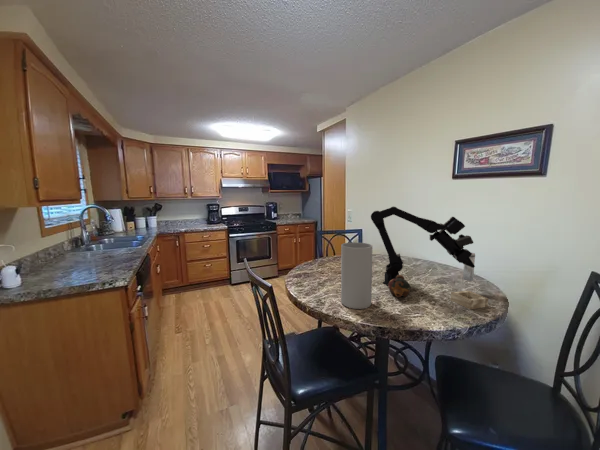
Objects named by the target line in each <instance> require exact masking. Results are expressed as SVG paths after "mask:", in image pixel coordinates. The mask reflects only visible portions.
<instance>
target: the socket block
mask: <svg viewBox="0 0 600 450" xmlns="http://www.w3.org/2000/svg"><path fill="white" fill-rule="evenodd" d="M450 301H451V302H453V303H455V304H457V305H460V306H462V307H463V308H466V309H468V310H475V309H481V308H488V307H489V298H488V297H486V296H483V295H481V294H478V293H477V292H476V293H475V292H473V291H470V290H461V291H451V292H450Z"/></svg>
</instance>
